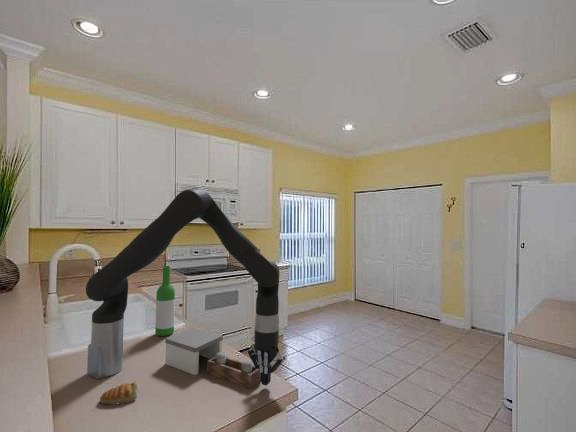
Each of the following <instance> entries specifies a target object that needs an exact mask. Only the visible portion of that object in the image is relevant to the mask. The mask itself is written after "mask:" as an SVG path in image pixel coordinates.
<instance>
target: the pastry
mask: <svg viewBox="0 0 576 432" xmlns="http://www.w3.org/2000/svg"><path fill="white" fill-rule="evenodd" d="M138 392H139V391H138V383H137V382H136V381H133V382H130V383H121V384H120V385H118V386H115V387H114V388H110V389H109V390H106V391H104V392H103V394H101V397H100V398H99V402H100V403H102V405H105V404H106V405H115V404H116V405H118V404H117V403H121V404H124V403H123V402H127V403H130V402H129V401H131V402H134V401H136V400H137V398H138ZM135 399H136V400H135Z"/></svg>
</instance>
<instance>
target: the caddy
mask: <svg viewBox="0 0 576 432" xmlns="http://www.w3.org/2000/svg"><path fill="white" fill-rule="evenodd" d="M206 370H207V371H206V373H207V374H210V375H212V376H213V377H217V378H220V379H223V380H225V381H228V382H231V383H234V384H237V385H239V386H241V387H244V388H248V389H252V388H253V387H255V386H256V385H257V384H258V383H259V382H260V383H261V380H260V379H261V372H260V370H259V369H256V368H255V366H254V364H253V362H252V360H251V359H247V360H243V361H240V360H237V359H234V358H231V357H227V353H226V352H224V351H222V352H219V353H217V354H216V357H214V358H212V359H208V360H207V367H206Z"/></svg>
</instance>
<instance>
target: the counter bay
mask: <svg viewBox="0 0 576 432" xmlns="http://www.w3.org/2000/svg"><path fill="white" fill-rule="evenodd" d="M223 340H224V336H223V335H221V334H219V333H215V332H211V331H207V330H204V329H200V328H197V327H191V328H190V329H187V330H184V331H181V332H179V333H176V334H174V335H170V336H167V337H165V340H164V341H165V342H164V343H165V361H164V362H165V363H164V364H165V365H167V366H171V367H173V368H176V369H178V370H180V371H184V372H186V373H188V374H191V375H194V376H197V375H199V367H200V366H199V363H200V362H199V359H200V357H204V358H207V359H208V360H210V359H212V358H214V357H216V354H217V353H219V352H223ZM199 356H200V357H199Z"/></svg>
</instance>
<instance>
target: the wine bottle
mask: <svg viewBox="0 0 576 432" xmlns="http://www.w3.org/2000/svg"><path fill="white" fill-rule="evenodd" d="M170 281H171V266H170V265H163V266H162V284H161V285H159V286H158V288H157V290H156V294H155V296H156V298H155V324H154V325H155V327H154V329H155V335H156V336H158V337H169V336H171V335H172V334H173V333H174V332H175V331H174V330H175V306H176V305H175V304H176V303H175V302H176V300H175V299H176V290H175V288H174V286H173V285H172V284H171V283H170Z"/></svg>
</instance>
